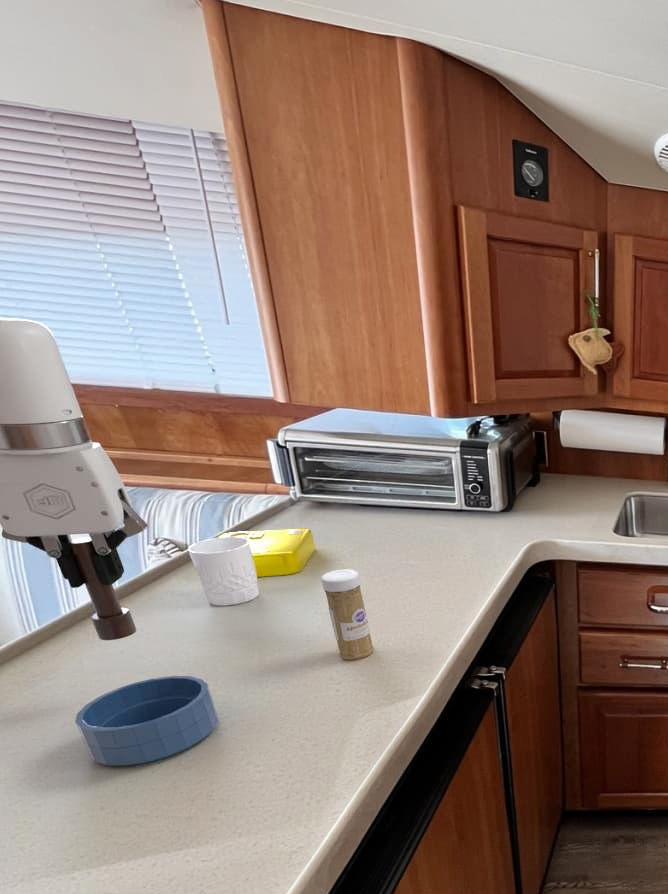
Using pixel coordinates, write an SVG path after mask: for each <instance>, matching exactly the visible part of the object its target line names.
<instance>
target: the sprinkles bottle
mask: <svg viewBox="0 0 668 894" xmlns="http://www.w3.org/2000/svg"><path fill="white" fill-rule="evenodd" d="M361 583H362V581H361V577H360V574H359V572H358V571H357V570H354V569H345V568H343V569H336V570H332V571H329V572H326V573H324V574H323V575H322V576H321V585H322V589H323V590H324V591H323V592H324V593H325V596H326V599H327V600H326V601H327V605H328V612H329V617H330V620H331V625H332V629H333V633H334V637H335V639H336V643H337V648H338V656H339V657H340V658H341V659H342V660H349V661H351V660H358V659H362V658H365V657H367V656H370V655H371V654H372V653H373V652H374V649H375V648H374V645H373V642H372V638H371V632H370V631H371V630H370V625H369V621H368V616H367V612H366V609H365V603H364V598H363V594H362V589H361Z"/></svg>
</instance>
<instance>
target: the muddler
mask: <svg viewBox="0 0 668 894" xmlns="http://www.w3.org/2000/svg"><path fill="white" fill-rule="evenodd" d="M68 543H69V546H70V548H71V551H72V553H73V556H74V558H75V561H76V563H77V566H78V568H79V571H80V573H81V576H82V578H83V581H84V585H85V588H86V590H87V593H88V595H89V598H90V601H91V603H92V606H93V608H94V611H95V613H93V614H92V615H91V616H90V619H91V621H92V624H93V626H94V629H95V631H96V634H97V636H98V639H99V640H101V641H115V640H120V639H125V638H127V637H130V636H132V635H134V634H135V633H136V632H137V628H136V624H135V622H134V619H133V616H132V614H131V612H130V609H129V608H127V607H122V606H121V603H120V601H119V598H118V595H117V593H116V591H115V588H114V584H112V585H104V584H102V582H101V579H100V577H99V574H98V571H97V569H96V566H95V564H94V561H93V556H94V555H96V554H97V553H96V551H95V548H94V545H93V543H92V540H91V538H90V536H84V537H78V538H73V539H72V540H70V541H69V542H68Z"/></svg>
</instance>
